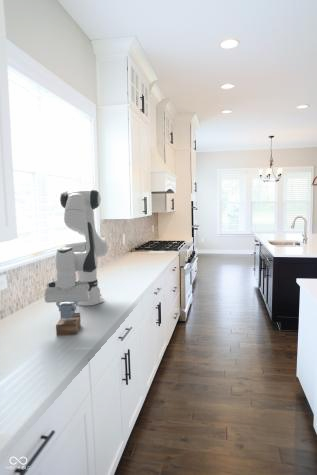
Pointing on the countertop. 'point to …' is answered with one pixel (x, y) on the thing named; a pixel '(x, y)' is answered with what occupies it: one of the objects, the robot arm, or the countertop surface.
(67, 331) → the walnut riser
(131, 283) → the countertop surface
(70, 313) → the block
